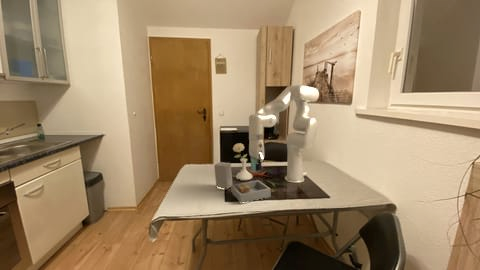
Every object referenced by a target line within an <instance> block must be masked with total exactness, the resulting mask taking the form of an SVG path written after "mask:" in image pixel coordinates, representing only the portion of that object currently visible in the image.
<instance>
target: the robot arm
mask: <svg viewBox="0 0 480 270" xmlns="http://www.w3.org/2000/svg"><path fill="white" fill-rule="evenodd" d="M319 97H320V92H319V90H318V89H317V88H316V87H313V86H308V85H304V84H303V85H302V84H298V85H288V86H287V87H286V88H285V89H284V90H282V91H281V93H280V94H279V95H278V96H277V97H276V98H275V99H273V100H272V101H270V102H268V103H266V104H265V105H263V106H261V107H260V108H259V109H258V110H257V111H256V112H255V113H254V114H250V115H249V117H248V140H249V142H248V143H249V144H248V154H249V157H250V159H251V158H253V157H254V158H256V163H257V164H256V171H259V172H261V171H262V164H263V161H264V158H265V144H264V133H263V132H264V128H272V127H274V126H275V125H276V124H277V121H278V119H277V117H276V115H274V114H276V113H280V112H283V111H286V110H287V108H288V107H289V106H290V105H291V104H292V103H293V102H294V103H295V106H296V111H295V115H294V118H293V120H292V121H293V122H292V129H293V130H294V131H296V132H290V133H288V134H287V135H286V138H285V142H286V143H285V144H286V148H287V150H286V151H287V160H286V161H287V165H286V167H287V169H286V170H287V171H286V172H287V174H286V175H285V176H284V180H285V181H286V182H289V183H291V184H293V183H294V184H299V183H303V182H305V176H308V175H309V173H308V172H303V151H302V150H306V151H307V150H310V149H311V148H313V146H314V143H315V139H316V137H317V132H318V128H319V124H318V120H317V119H316V118H315V117H312V116H311V117H310V112H311V108H310V106H309V104H308V103H315V102H317V100H318V99H319ZM297 131H298V132H297ZM301 132H303V133H301ZM258 157H259V158H258ZM258 159H260V160H259V161H258ZM250 168H251V169H252V163H251V162H250Z"/></svg>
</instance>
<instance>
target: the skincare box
mask: <svg viewBox="0 0 480 270" xmlns="http://www.w3.org/2000/svg"><path fill="white" fill-rule="evenodd" d="M213 166H214V167H213V168H214V175H215V176H214V177H215V184H216V186H218V187H221V188H226V189H228V188H229V187H231V185H234V184H233V176H232V173H233V172H232V164H231V162H223V161H219V162H218V163H216V164H214V165H213Z"/></svg>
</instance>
